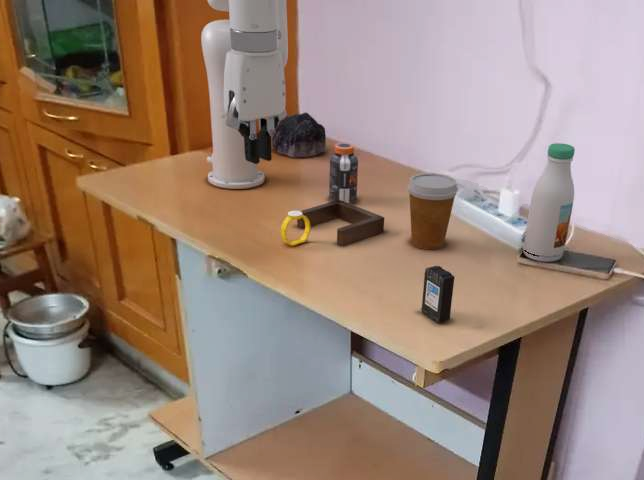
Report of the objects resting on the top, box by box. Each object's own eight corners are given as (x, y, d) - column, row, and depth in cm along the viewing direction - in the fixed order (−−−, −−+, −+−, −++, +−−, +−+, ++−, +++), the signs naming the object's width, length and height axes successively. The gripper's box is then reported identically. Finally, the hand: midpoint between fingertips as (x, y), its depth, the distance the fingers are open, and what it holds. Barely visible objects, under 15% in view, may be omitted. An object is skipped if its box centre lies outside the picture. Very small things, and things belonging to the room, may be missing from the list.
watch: (304, 238, 164) (304, 207, 160) (312, 242, 162) (313, 212, 158) (278, 244, 161) (278, 213, 157) (287, 249, 159) (286, 218, 155)
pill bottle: (353, 206, 179) (355, 150, 172) (326, 203, 180) (327, 147, 173) (359, 196, 183) (361, 142, 176) (332, 194, 184) (333, 139, 177)
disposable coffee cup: (457, 238, 167) (464, 176, 159) (445, 256, 159) (451, 192, 152) (411, 231, 169) (415, 169, 161) (397, 248, 162) (401, 184, 154)
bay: (297, 226, 168) (296, 211, 166) (338, 213, 175) (338, 199, 173) (342, 246, 161) (342, 230, 159) (383, 232, 168) (384, 217, 166)
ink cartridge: (420, 312, 140) (424, 266, 135) (431, 309, 141) (436, 263, 136) (438, 324, 137) (443, 277, 132) (449, 321, 138) (454, 275, 133)
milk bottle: (538, 265, 158) (558, 154, 145) (514, 250, 163) (531, 142, 151) (571, 259, 161) (593, 150, 148) (546, 244, 166) (565, 138, 153)
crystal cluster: (278, 144, 214) (273, 102, 207) (331, 142, 213) (328, 101, 206) (269, 164, 204) (263, 121, 198) (324, 163, 203) (320, 120, 196)
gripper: (277, 32, 141) (279, 147, 152) (199, 42, 132) (208, 163, 143) (307, 40, 137) (307, 157, 148) (229, 51, 128) (235, 175, 139)
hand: (258, 159), depth 146 cm, fingers closed
